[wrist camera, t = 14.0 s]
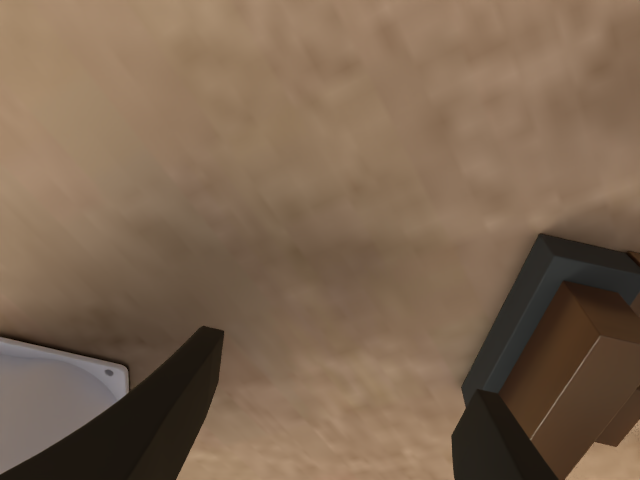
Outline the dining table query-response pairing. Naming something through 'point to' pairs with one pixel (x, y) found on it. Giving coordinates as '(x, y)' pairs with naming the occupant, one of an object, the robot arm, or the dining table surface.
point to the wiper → (564, 347)
